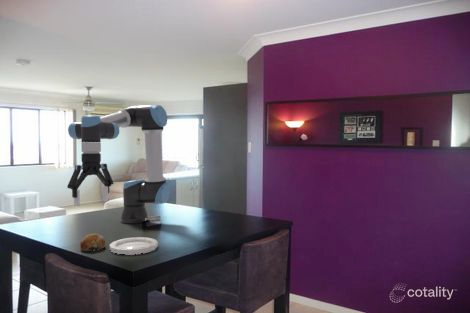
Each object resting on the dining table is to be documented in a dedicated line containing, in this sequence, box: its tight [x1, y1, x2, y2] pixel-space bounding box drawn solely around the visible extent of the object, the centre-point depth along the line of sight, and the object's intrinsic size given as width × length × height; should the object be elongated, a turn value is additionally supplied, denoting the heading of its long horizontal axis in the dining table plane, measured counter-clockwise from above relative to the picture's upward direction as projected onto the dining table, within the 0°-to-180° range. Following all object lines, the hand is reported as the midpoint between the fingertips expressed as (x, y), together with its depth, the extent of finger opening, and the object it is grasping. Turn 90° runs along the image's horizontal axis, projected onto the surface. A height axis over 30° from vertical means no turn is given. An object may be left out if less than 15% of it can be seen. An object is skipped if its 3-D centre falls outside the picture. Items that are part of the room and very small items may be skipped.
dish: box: [109, 236, 159, 256], centre depth 155 cm, size 19×19×2 cm
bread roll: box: [79, 233, 106, 252], centre depth 154 cm, size 10×10×8 cm
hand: (91, 203), depth 153 cm, fingers open, 13 cm apart
